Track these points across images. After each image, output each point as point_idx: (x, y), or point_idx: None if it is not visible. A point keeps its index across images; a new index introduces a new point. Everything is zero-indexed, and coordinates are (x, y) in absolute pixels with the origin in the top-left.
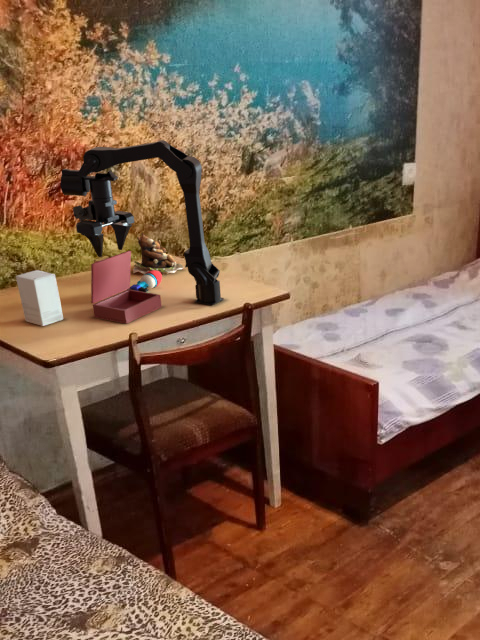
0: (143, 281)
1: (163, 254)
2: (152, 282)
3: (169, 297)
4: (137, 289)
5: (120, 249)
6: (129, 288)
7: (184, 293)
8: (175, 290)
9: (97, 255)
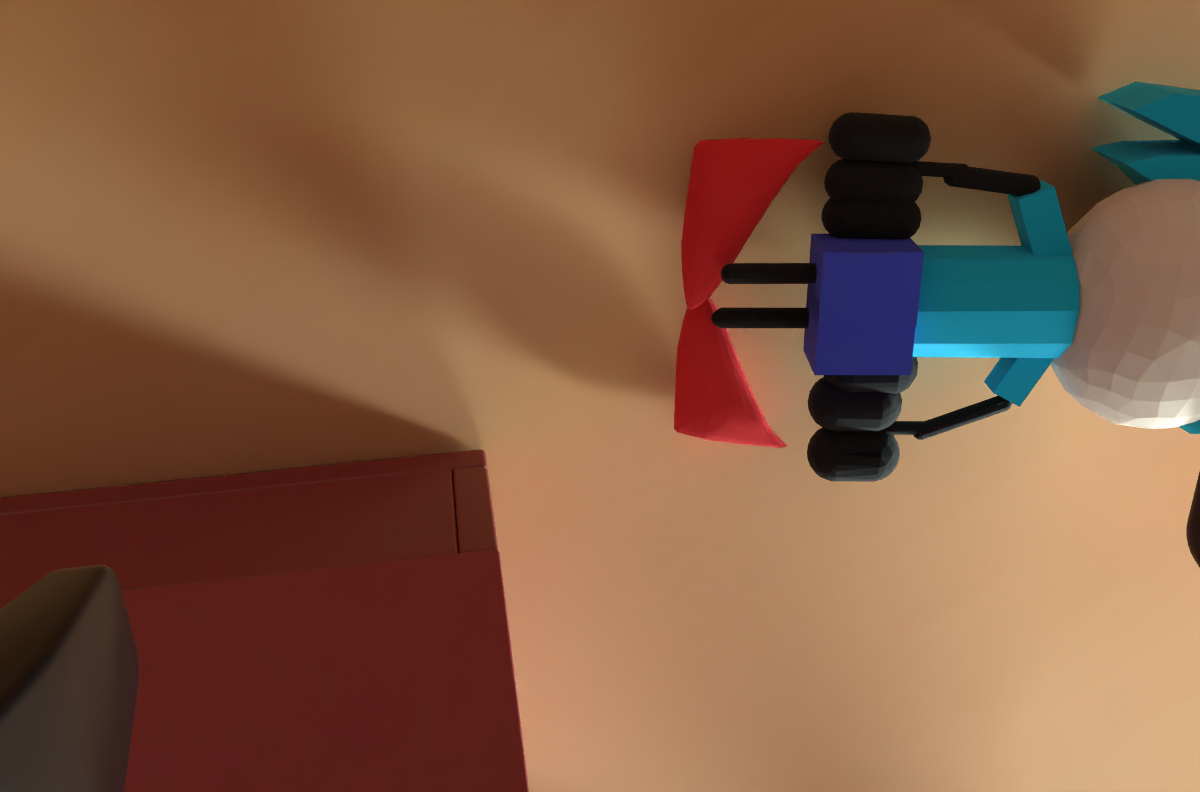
0: (1065, 329)
1: None
2: (1108, 418)
3: (873, 675)
4: (813, 363)
5: (1193, 530)
6: (842, 187)
7: (1073, 698)
8: (1148, 560)
9: (27, 594)
